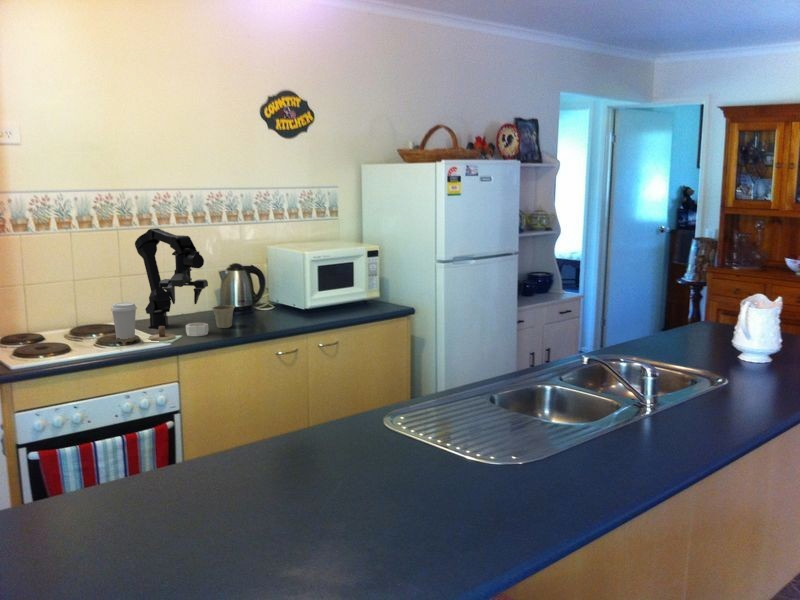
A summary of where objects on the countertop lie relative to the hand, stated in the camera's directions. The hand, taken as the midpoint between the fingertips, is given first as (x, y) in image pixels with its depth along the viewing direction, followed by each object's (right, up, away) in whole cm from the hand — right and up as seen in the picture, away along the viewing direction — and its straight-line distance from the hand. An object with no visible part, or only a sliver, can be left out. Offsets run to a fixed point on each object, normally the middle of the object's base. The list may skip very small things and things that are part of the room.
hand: (184, 304), depth 304 cm
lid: (-5, -14, -12) cm, 19 cm away
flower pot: (+13, -10, +14) cm, 22 cm away
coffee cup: (-19, -15, -15) cm, 28 cm away
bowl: (+6, -12, -2) cm, 14 cm away
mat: (-5, -14, -12) cm, 19 cm away
